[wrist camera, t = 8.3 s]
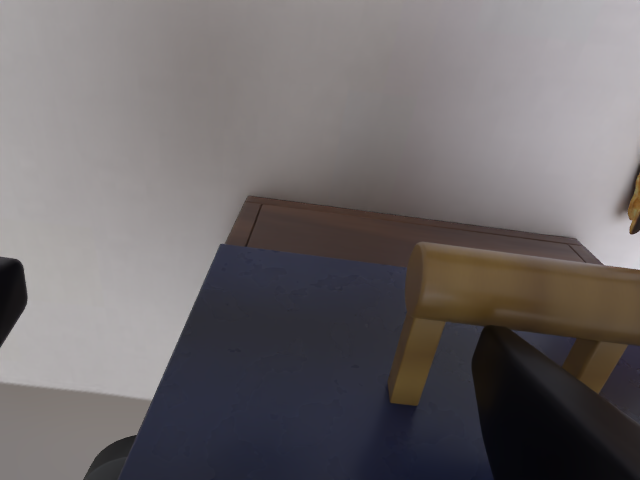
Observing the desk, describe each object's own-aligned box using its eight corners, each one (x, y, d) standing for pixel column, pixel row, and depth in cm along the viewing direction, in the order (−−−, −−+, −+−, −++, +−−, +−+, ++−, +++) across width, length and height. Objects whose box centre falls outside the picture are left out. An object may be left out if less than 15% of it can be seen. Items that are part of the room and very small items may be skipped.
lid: (904, 620, 9) (1161, 462, 7) (108, 532, 9) (72, 329, 6) (643, 315, 17) (717, 192, 15) (219, 261, 17) (222, 125, 15)
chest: (520, 377, 26) (560, 459, 21) (237, 342, 26) (215, 418, 21) (576, 238, 22) (641, 300, 18) (247, 194, 22) (222, 246, 17)
